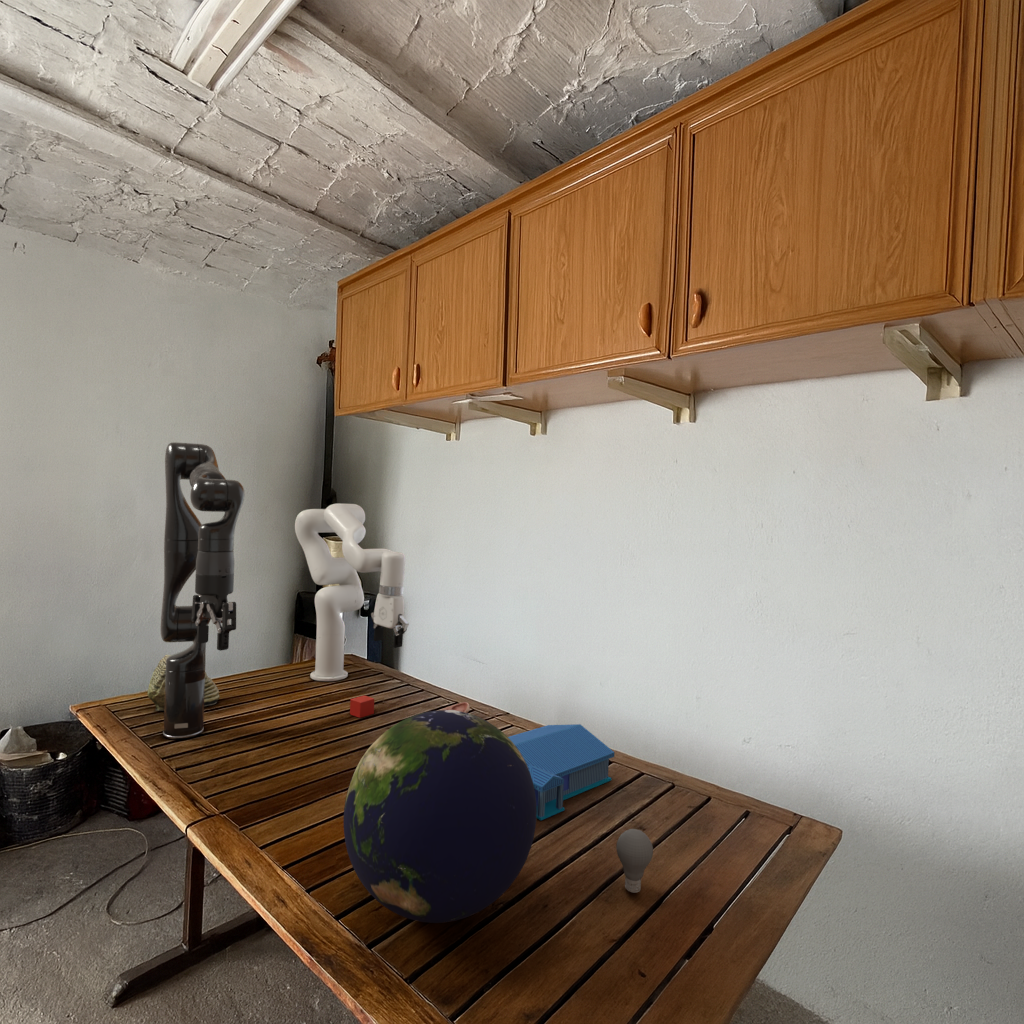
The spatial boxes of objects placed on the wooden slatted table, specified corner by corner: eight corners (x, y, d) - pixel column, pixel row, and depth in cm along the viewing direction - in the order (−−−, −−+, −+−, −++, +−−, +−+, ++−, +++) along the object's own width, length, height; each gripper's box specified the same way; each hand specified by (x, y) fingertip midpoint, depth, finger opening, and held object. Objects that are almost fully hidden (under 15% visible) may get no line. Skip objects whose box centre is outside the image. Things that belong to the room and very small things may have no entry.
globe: (296, 934, 92) (304, 728, 91) (406, 836, 119) (412, 678, 119) (484, 1004, 80) (494, 770, 80) (557, 878, 108) (565, 703, 108)
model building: (493, 841, 119) (496, 788, 119) (420, 792, 137) (422, 747, 137) (623, 784, 145) (625, 741, 145) (547, 750, 164) (548, 712, 163)
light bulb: (610, 879, 108) (613, 822, 108) (644, 879, 109) (647, 822, 109) (619, 902, 102) (622, 840, 102) (655, 901, 103) (658, 840, 103)
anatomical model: (417, 708, 179) (430, 696, 190) (416, 722, 179) (430, 710, 191) (462, 714, 177) (473, 701, 188) (461, 728, 177) (472, 715, 188)
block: (349, 714, 184) (350, 699, 184) (363, 710, 189) (364, 695, 188) (359, 718, 182) (360, 702, 182) (373, 713, 186) (374, 698, 186)
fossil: (144, 707, 182) (145, 655, 182) (212, 696, 194) (213, 647, 194) (151, 716, 175) (153, 662, 175) (221, 703, 188) (223, 653, 188)
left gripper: (181, 569, 138) (178, 643, 138) (215, 576, 129) (212, 655, 130) (215, 567, 144) (212, 638, 144) (249, 573, 135) (246, 649, 136)
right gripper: (365, 587, 204) (361, 639, 205) (399, 596, 193) (396, 651, 194) (383, 585, 210) (380, 636, 211) (418, 594, 199) (414, 648, 200)
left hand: (212, 646), depth 137 cm, fingers open, 8 cm apart
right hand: (387, 643), depth 203 cm, fingers open, 9 cm apart
